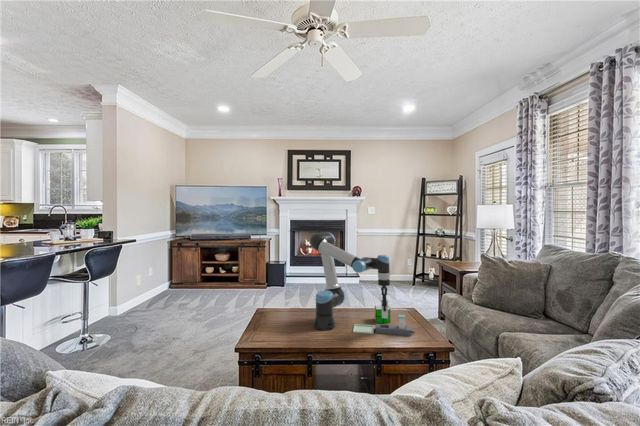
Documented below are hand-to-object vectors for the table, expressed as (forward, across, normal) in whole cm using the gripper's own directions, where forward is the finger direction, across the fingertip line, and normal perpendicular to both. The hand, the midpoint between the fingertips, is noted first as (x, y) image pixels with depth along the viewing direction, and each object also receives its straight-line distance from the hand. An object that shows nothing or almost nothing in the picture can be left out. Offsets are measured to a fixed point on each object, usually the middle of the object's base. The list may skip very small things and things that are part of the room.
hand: (384, 314), depth 196 cm
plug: (+2, 0, 0) cm, 2 cm away
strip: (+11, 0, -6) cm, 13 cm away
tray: (+11, 0, +14) cm, 18 cm away
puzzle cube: (+11, +20, +2) cm, 23 cm away
